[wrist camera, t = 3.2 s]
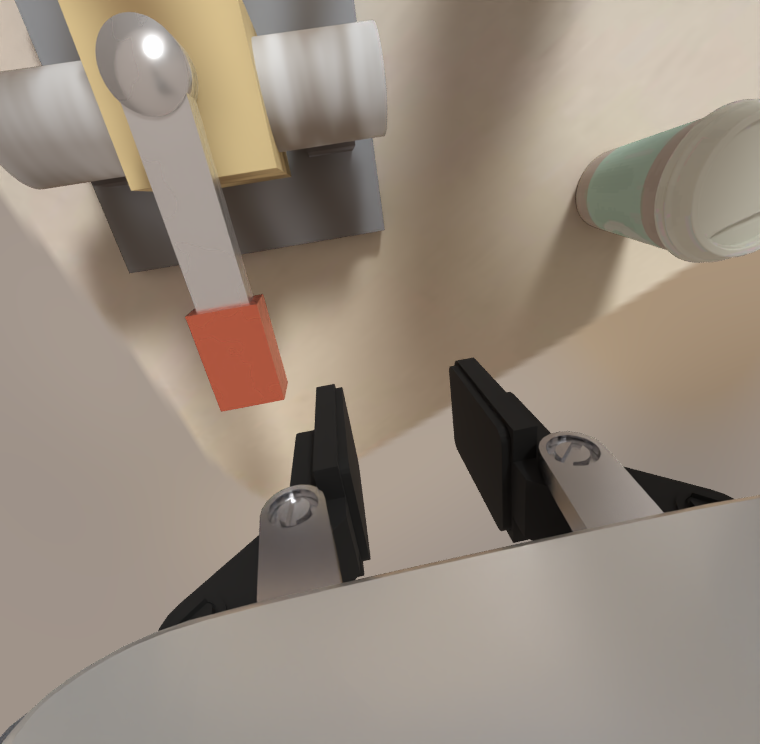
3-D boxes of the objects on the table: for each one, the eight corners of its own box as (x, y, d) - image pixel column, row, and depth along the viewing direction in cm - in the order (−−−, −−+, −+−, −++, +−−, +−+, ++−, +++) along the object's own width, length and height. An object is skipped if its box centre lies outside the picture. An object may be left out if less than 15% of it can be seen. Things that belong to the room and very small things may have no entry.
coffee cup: (545, 236, 32) (655, 256, 22) (582, 118, 29) (733, 72, 18) (632, 251, 34) (776, 276, 23) (676, 141, 31) (868, 110, 20)
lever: (102, 37, 15) (71, 14, 13) (187, 25, 15) (168, 2, 13) (229, 393, 21) (220, 411, 19) (287, 382, 21) (284, 399, 20)
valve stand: (344, -45, 24) (362, -265, 12) (382, 228, 31) (415, 246, 19) (26, -4, 23) (-270, -204, 11) (138, 269, 29) (22, 314, 18)
